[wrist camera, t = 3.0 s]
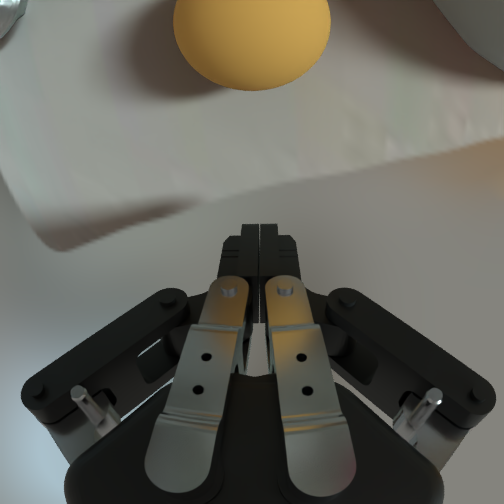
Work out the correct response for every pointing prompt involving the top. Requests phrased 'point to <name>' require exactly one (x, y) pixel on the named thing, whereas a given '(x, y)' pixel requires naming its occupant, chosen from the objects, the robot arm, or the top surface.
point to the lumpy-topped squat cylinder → (478, 25)
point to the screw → (10, 13)
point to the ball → (251, 39)
